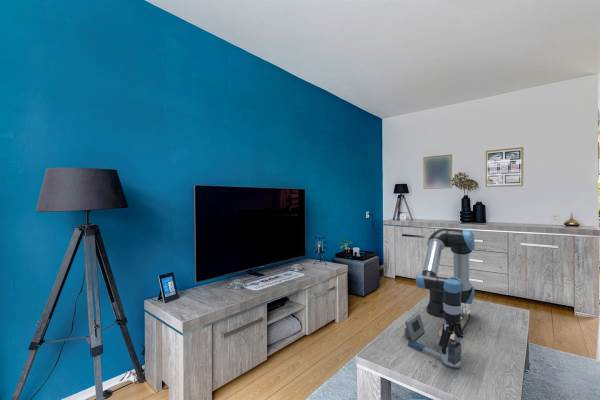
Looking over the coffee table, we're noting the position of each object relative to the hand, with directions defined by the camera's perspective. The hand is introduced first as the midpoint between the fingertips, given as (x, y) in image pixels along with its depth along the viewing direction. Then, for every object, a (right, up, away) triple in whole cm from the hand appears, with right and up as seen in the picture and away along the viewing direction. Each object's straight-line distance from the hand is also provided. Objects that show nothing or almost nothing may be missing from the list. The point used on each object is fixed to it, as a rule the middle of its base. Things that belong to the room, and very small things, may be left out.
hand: (451, 354), depth 136 cm
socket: (0, -2, 0) cm, 2 cm away
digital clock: (-6, -4, +27) cm, 28 cm away
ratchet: (-5, -4, +7) cm, 10 cm away
